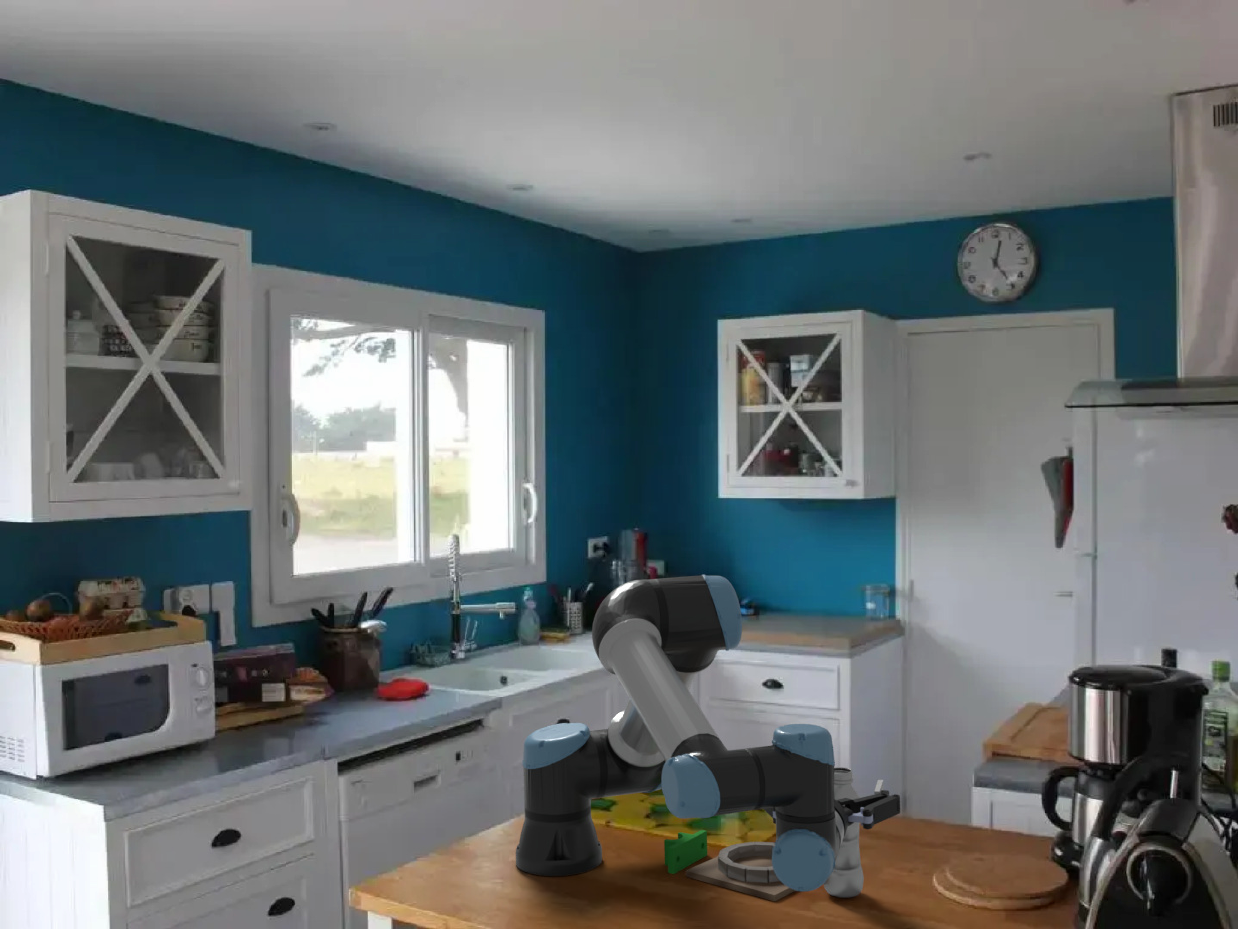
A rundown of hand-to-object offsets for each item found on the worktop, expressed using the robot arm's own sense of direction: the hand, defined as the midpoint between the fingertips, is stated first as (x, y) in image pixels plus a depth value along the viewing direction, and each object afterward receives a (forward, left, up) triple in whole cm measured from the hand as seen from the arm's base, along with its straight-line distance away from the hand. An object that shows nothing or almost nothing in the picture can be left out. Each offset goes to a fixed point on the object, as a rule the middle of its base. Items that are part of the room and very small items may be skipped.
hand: (835, 786), depth 183 cm
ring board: (-21, +9, -20) cm, 30 cm away
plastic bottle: (-5, +9, -20) cm, 23 cm away
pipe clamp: (-34, +5, -21) cm, 40 cm away
